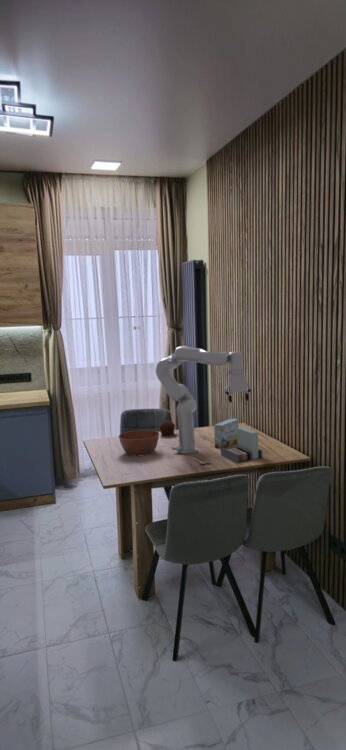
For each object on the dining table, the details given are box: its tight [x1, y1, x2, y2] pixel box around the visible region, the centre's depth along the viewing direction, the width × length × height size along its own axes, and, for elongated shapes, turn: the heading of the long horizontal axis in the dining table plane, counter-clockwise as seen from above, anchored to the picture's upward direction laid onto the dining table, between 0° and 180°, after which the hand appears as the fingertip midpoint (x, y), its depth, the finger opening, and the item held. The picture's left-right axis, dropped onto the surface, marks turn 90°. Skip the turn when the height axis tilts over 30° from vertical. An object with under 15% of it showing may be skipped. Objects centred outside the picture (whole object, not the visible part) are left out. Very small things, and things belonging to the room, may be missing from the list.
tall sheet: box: [237, 426, 259, 460], centre depth 295 cm, size 4×16×15 cm, turn 23°
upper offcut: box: [226, 447, 247, 458], centre depth 293 cm, size 6×14×2 cm, turn 23°
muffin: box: [158, 420, 176, 437], centre depth 359 cm, size 12×11×10 cm
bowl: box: [118, 429, 160, 457], centre depth 317 cm, size 25×25×11 cm
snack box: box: [213, 418, 239, 449], centre depth 325 cm, size 21×6×15 cm, turn 143°
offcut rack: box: [220, 444, 264, 464], centre depth 294 cm, size 17×18×6 cm
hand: (238, 401), depth 301 cm, fingers open, 9 cm apart
